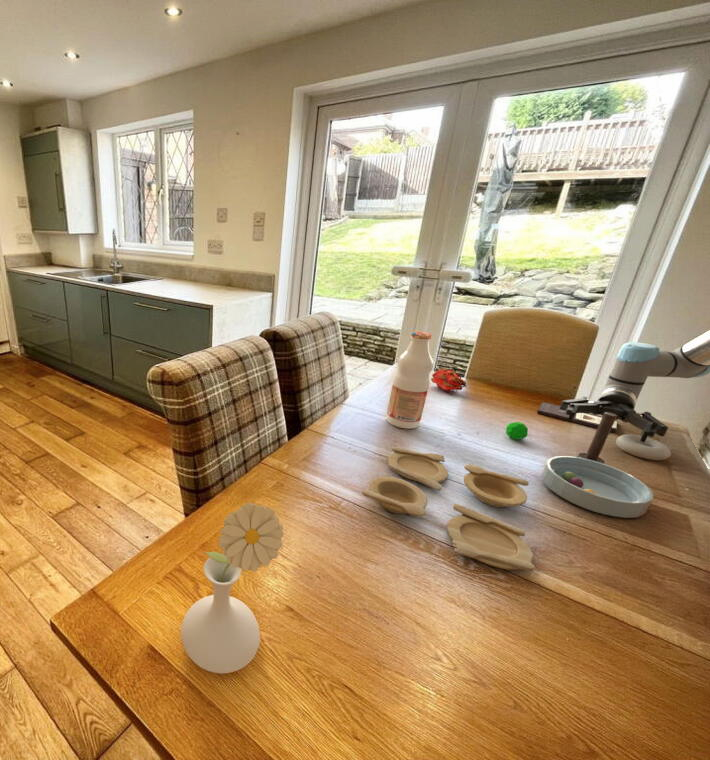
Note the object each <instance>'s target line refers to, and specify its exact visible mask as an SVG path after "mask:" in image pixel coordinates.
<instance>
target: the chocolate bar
mask: <svg viewBox="0 0 710 760" xmlns="http://www.w3.org/2000/svg"><path fill="white" fill-rule="evenodd" d="M559 408H560V405H556V404H552V403H549V402H544V401H541V404H540V406H539V408H538V410H537V414H541V415H544V416H548V417H552V418H555V419H560V420H563V421H567V422H569V421H568V418H569V416H570V415H567V414H566V410H561V409H559ZM602 417H603V416H602V415H594V414H592V413H576V415H575V416H574V418H573V420H572V421H571V422H570V423H576V424H580V425H583V426H587V427H590V428H594V429H598V426H599V424H600V422H601V420H602ZM617 423H618V419H617V420H616V419H615V421H614V424H613V426H612V428H611V430H610V433H616V432H617V428H618V427H617V425H618V424H617Z"/></svg>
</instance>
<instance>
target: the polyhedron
mask: <svg viewBox="0 0 710 760" xmlns="http://www.w3.org/2000/svg"><path fill="white" fill-rule="evenodd" d="M505 429H506V430H505V434H506V435H507V436H508V438H510V439H513V440H515V441H516V440H523V439H525V438H526V437H528V432H529V428H528V426H527V425H526V424H524V423H523V422H520V421H515V422H510V423H508V424H507V425H506V428H505Z"/></svg>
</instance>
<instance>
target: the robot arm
mask: <svg viewBox="0 0 710 760" xmlns="http://www.w3.org/2000/svg"><path fill="white" fill-rule="evenodd" d="M709 374H710V330H708V331H706V332H704V333H702V334H701V335H699V336H698V337H696V338H694V339H693V340H690V341H689V342H687V343H686V344H683V345H682V346H680V347H678V348H675V350H670V351H669V350H660V347H658V346H657V345H653V344H650V343H645V342H637V341H635V342H634V341H629V342H626V343H624V344H623V345H622V346H621V348H620V349H619V351H618V353H617V354H616V357H615V361H614V363H613V365H612V368H611V370H610V373H609V375H608V377H607V380H606V381H605V384H604V386H603V388H602V391H601V393H600V394H599V397H598V398H597V400H594V401H591V400H590V399H589V398H588V397H587V396H582V397H580V398H572V399H565V400H562V401H561V403H560V405H559V406H560V408H559V409H561V410H566V414H567V415H570V416H569V418H568V421H567V422H569V423H572V422H571V421H572V420H573V418H574V416H575V415H576V413H590V414H594V415H599V416H603V415H604V413H605V412H610V413H613V414H616V415H617V417H616V419H615V420H617V421H618V420H619V421H621V422H623V423H624V424H625V423H626V424H630V425H632V426H633V427H636V428H637V429H639V430H641V431H642V432H641V435H640V436H641V440H640V441H641V442H645V441H646V439H647V437H648V438H654V437H655V435H657V436H659V437H665V435H666V433H667V431H668V429H669V427H668V426H667V425H666V424H665V423H663V422H661V421H660V420H659V419H657V418H655V417H654V416H653V415H652V413H651V412H649V411H644V412H641V413H640V412H637V411H636V409H635V407H636V404H637V402H638V401H637V400H638V398H639V396H640V394H641V392H642V389H643V387H644V385H645V384H646V381H647V380H648V378H650V377H651V378H652V377H654V378H680V379H693V378H702V377H705V376H707V375H709Z"/></svg>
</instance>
